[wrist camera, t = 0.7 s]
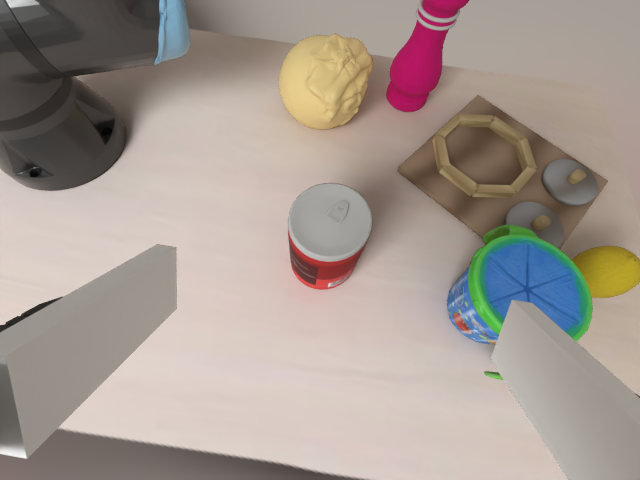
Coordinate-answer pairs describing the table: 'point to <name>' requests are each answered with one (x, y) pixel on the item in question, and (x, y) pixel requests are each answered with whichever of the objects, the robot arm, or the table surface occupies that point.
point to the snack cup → (518, 286)
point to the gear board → (502, 175)
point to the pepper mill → (422, 55)
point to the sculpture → (325, 80)
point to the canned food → (327, 234)
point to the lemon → (608, 270)
